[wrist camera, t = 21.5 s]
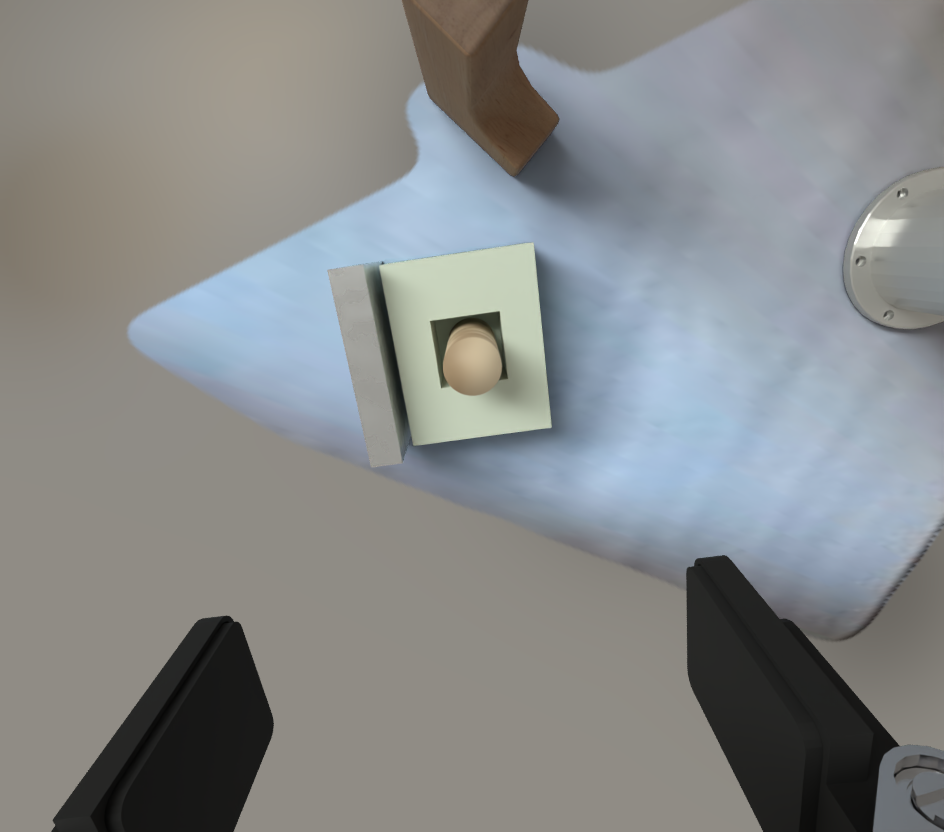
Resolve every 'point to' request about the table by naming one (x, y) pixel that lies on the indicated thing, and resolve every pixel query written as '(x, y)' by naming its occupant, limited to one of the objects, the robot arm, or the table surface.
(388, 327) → the backstop board
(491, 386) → the wooden dowel
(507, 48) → the wooden block
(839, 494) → the table surface
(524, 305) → the socket block
